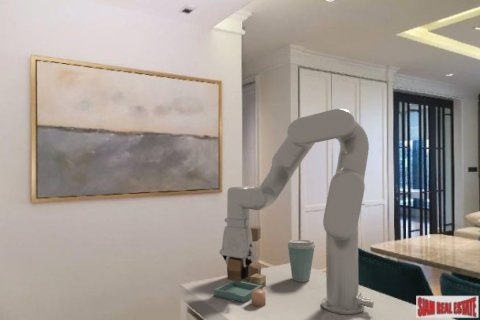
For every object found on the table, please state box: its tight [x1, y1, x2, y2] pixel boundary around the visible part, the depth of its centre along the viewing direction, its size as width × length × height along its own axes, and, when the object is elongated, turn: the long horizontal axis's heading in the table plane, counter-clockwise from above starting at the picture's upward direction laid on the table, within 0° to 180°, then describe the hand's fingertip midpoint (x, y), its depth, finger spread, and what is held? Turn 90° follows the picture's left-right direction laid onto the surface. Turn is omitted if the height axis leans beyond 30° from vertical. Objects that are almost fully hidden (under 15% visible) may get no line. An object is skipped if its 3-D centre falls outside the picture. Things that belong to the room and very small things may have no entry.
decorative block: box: [244, 225, 262, 281], centre depth 135 cm, size 11×6×20 cm, turn 72°
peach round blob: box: [250, 289, 266, 308], centre depth 109 cm, size 4×4×4 cm
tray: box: [213, 280, 264, 304], centre depth 118 cm, size 12×12×2 cm
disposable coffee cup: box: [287, 239, 316, 282], centre depth 134 cm, size 11×11×15 cm
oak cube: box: [250, 273, 267, 289], centre depth 125 cm, size 4×4×4 cm
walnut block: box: [227, 257, 248, 282], centre depth 118 cm, size 5×5×7 cm
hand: (237, 275), depth 118 cm, fingers closed on walnut block, 5 cm apart
